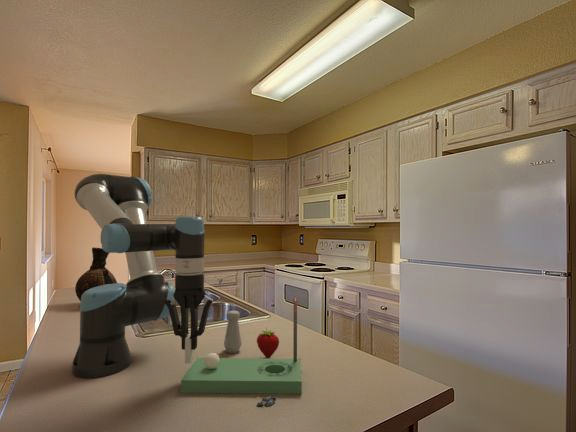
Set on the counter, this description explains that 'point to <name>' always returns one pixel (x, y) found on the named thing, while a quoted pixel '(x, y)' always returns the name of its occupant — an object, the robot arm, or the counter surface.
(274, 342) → the strawberry
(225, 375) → the board
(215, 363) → the white ball
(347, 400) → the counter surface
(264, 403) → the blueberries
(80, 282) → the ceramic vessel
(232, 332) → the salt shaker
